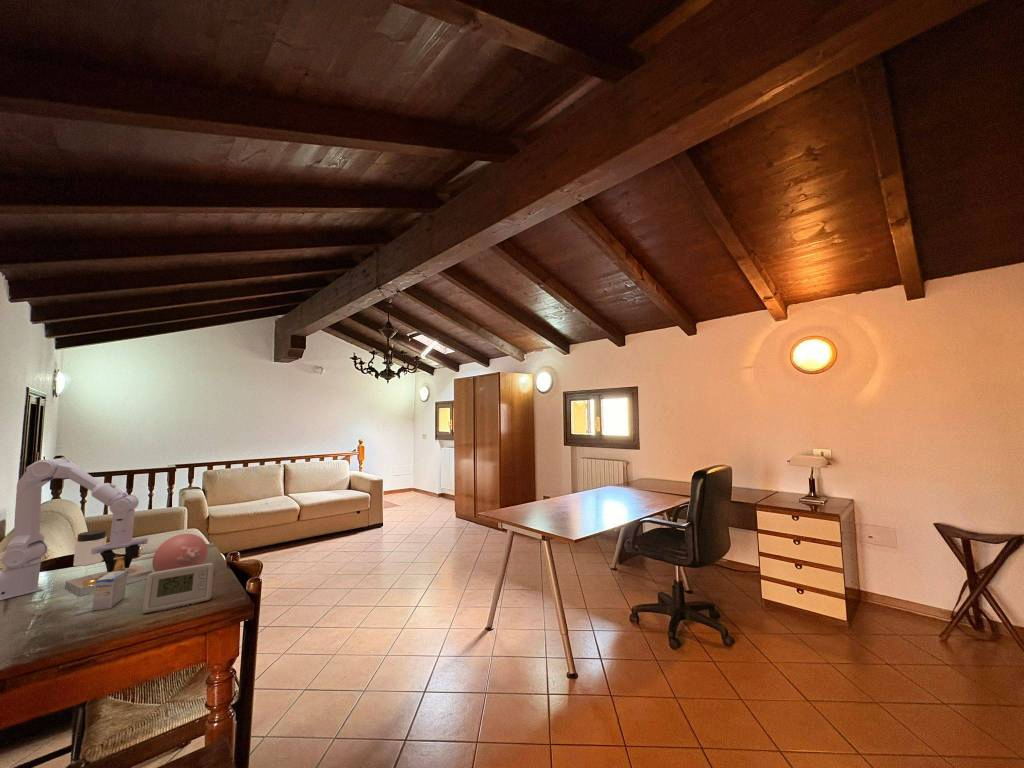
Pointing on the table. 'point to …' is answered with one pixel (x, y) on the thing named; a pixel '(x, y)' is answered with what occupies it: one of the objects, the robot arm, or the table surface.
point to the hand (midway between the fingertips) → (118, 569)
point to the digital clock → (178, 587)
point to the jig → (88, 582)
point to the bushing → (119, 564)
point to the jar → (89, 547)
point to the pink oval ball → (180, 552)
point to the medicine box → (109, 590)
